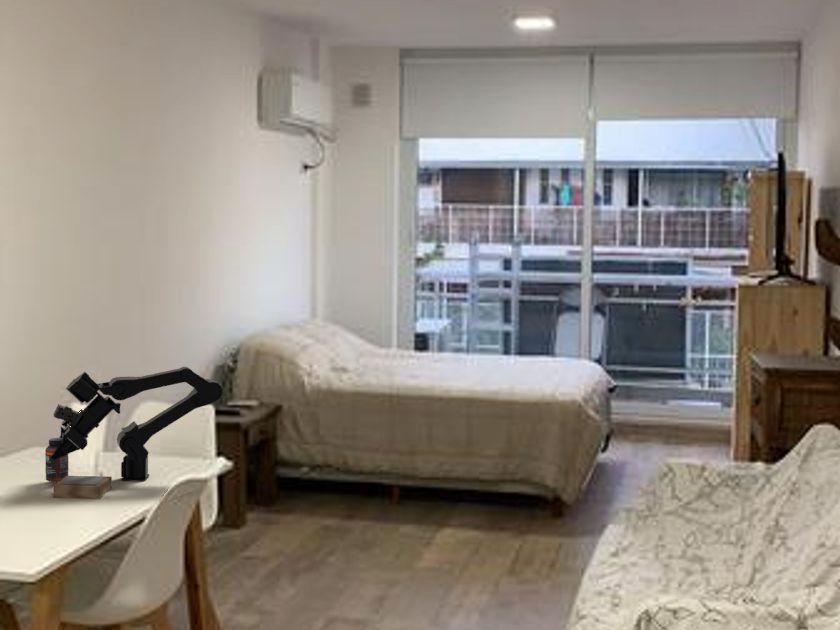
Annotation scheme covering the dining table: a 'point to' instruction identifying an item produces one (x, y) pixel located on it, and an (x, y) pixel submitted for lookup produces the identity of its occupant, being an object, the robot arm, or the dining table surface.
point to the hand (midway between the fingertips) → (51, 456)
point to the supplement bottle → (55, 462)
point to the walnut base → (82, 487)
